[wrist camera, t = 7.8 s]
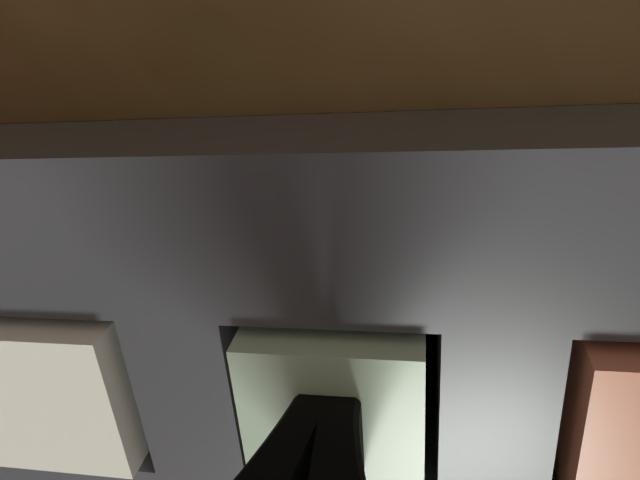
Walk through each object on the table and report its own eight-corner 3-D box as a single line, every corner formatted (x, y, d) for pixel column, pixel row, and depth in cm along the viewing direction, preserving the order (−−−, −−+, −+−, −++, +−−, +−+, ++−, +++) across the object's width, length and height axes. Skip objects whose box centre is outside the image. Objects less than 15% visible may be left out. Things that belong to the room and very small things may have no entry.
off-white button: (58, 387, 17) (-10, 465, 14) (18, 273, 15) (-68, 337, 13) (180, 395, 16) (132, 479, 14) (153, 276, 15) (92, 345, 12)
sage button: (280, 402, 16) (250, 490, 13) (264, 278, 14) (225, 352, 11) (424, 412, 15) (423, 507, 12) (426, 283, 13) (425, 362, 11)
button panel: (46, 464, 20) (-14, 542, 17) (-85, 127, 14) (-200, 163, 12) (752, 531, 15) (820, 648, 13) (921, 94, 10) (1092, 138, 8)
